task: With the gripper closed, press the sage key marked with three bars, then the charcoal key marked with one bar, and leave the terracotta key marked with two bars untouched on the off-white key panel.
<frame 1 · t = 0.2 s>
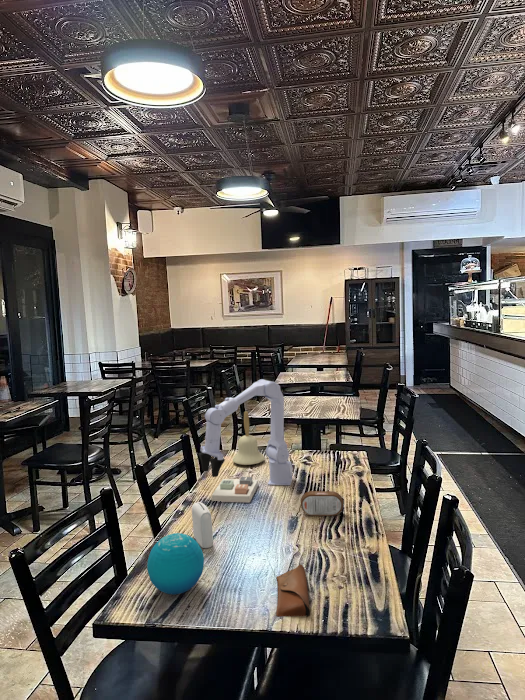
hand: (210, 473, 186), 10 cm above the table, tool pointing down, fingers open, 7 cm apart
key three: (227, 485, 192), point 3 cm above the table, slide at 0.0 cm
tin: (322, 515, 169), on the table
sunglasses case: (291, 597, 124), on the table
decorative orb: (177, 590, 128), on the table
photo printer: (203, 542, 154), on the table
handbell: (248, 462, 228), on the table
key one: (246, 482, 195), point 3 cm above the table, slide at 0.0 cm
key panel: (235, 493, 192), on the table
key two: (241, 489, 187), point 3 cm above the table, slide at 0.0 cm
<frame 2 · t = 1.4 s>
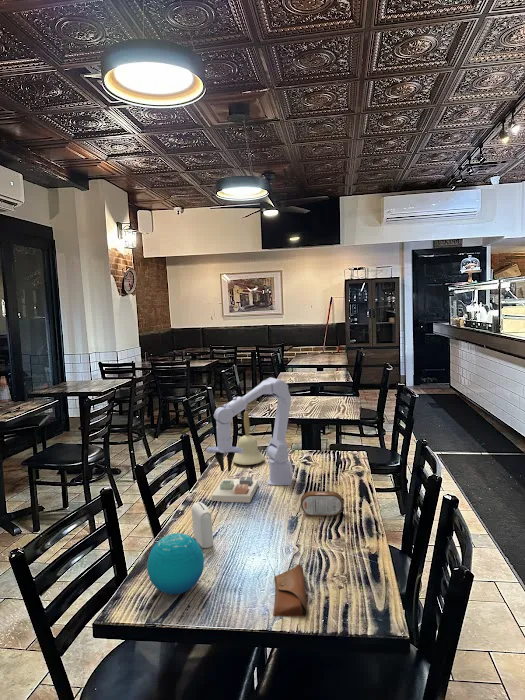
hand: (226, 470, 191), 9 cm above the table, tool pointing down, fingers closed
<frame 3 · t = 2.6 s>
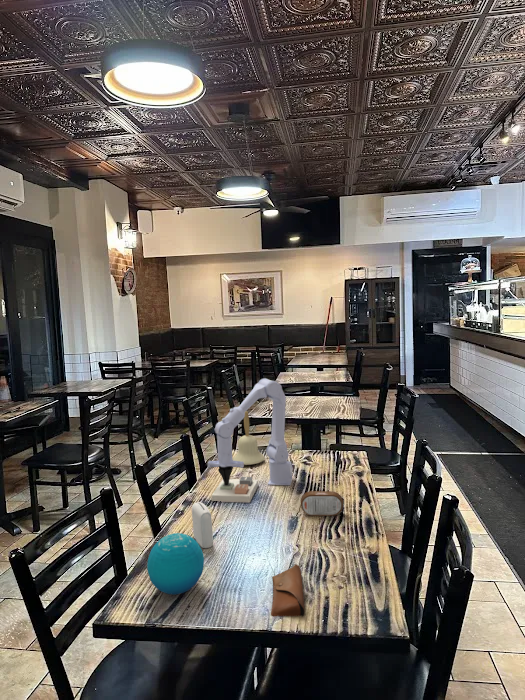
hand: (226, 484, 192), 4 cm above the table, tool pointing down, fingers closed, pressing on key three
key three: (227, 488, 192), point 2 cm above the table, slide at 1.0 cm, touching gripper
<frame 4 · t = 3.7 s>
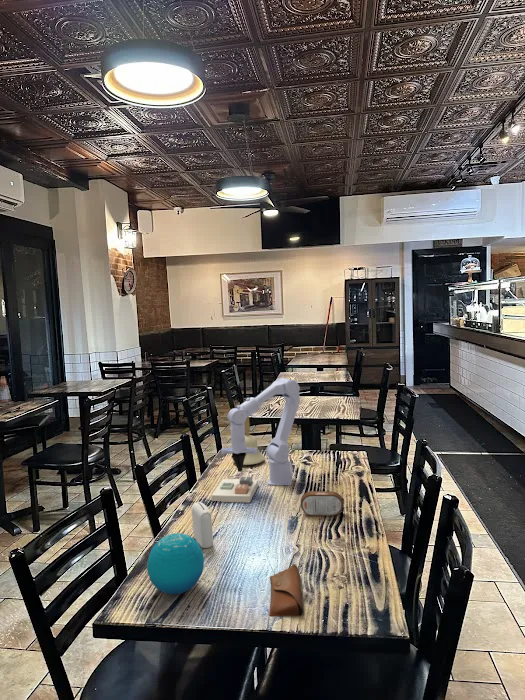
hand: (240, 470, 193), 8 cm above the table, tool pointing down, fingers closed
key three: (227, 488, 192), point 2 cm above the table, slide at 1.0 cm
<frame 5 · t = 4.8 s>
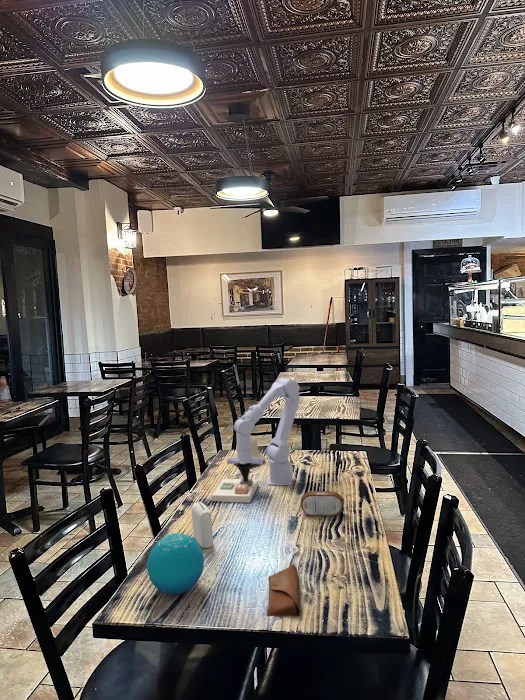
hand: (245, 480, 195), 4 cm above the table, tool pointing down, fingers closed, pressing on key one
key one: (246, 484, 195), point 2 cm above the table, slide at 1.0 cm, touching gripper
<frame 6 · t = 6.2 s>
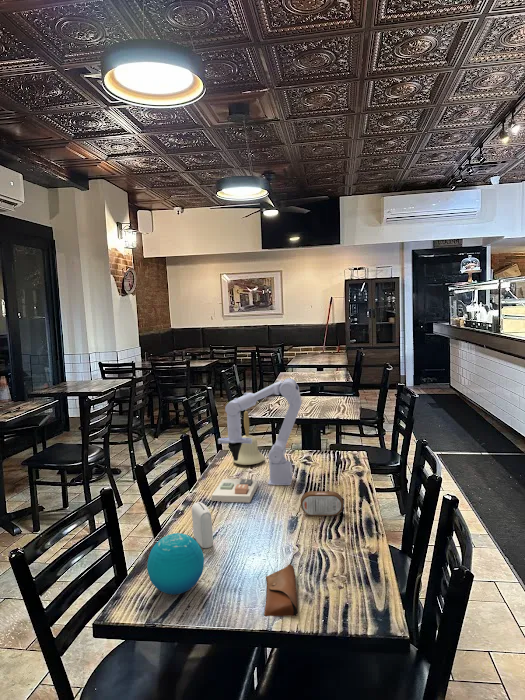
hand: (236, 459, 204), 9 cm above the table, tool pointing down, fingers closed
key one: (246, 484, 195), point 2 cm above the table, slide at 1.0 cm
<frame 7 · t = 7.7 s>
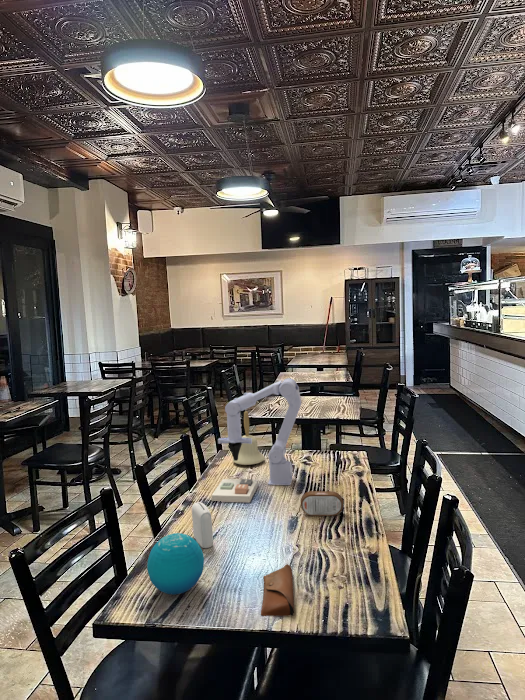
hand: (236, 459, 204), 9 cm above the table, tool pointing down, fingers closed
at the end: key three slide at 1.0 cm; key one slide at 1.0 cm; key two slide at 0.0 cm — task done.
